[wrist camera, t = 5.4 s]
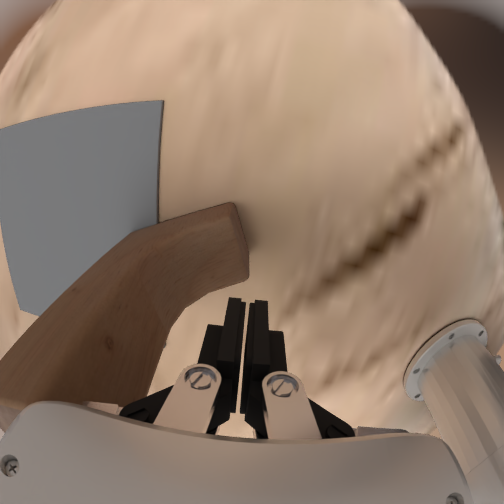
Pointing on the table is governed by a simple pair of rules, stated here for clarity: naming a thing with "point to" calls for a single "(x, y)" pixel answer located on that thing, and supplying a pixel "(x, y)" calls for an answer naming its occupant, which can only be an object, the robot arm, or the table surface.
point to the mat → (75, 192)
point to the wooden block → (122, 313)
